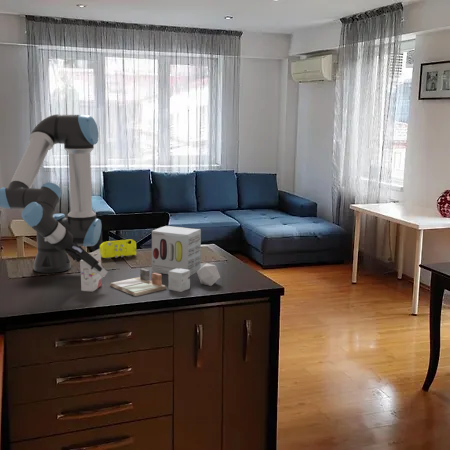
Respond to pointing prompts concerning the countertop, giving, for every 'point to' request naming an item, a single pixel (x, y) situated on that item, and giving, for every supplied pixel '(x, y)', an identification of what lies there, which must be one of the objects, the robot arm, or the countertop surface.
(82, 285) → the ink cartridge box
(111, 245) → the yellow toy chassis
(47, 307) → the countertop surface
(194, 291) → the countertop surface
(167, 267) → the supplement box
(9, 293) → the countertop surface
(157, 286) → the docking board
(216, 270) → the die
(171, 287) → the skincare box
